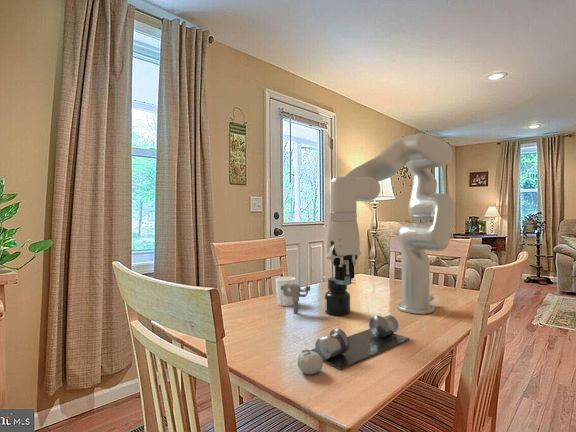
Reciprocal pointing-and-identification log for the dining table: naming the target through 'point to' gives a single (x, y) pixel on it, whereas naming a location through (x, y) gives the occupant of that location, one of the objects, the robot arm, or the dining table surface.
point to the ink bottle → (337, 299)
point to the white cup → (281, 298)
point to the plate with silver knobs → (359, 343)
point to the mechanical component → (294, 293)
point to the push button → (345, 272)
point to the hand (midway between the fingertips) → (344, 278)
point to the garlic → (309, 362)
